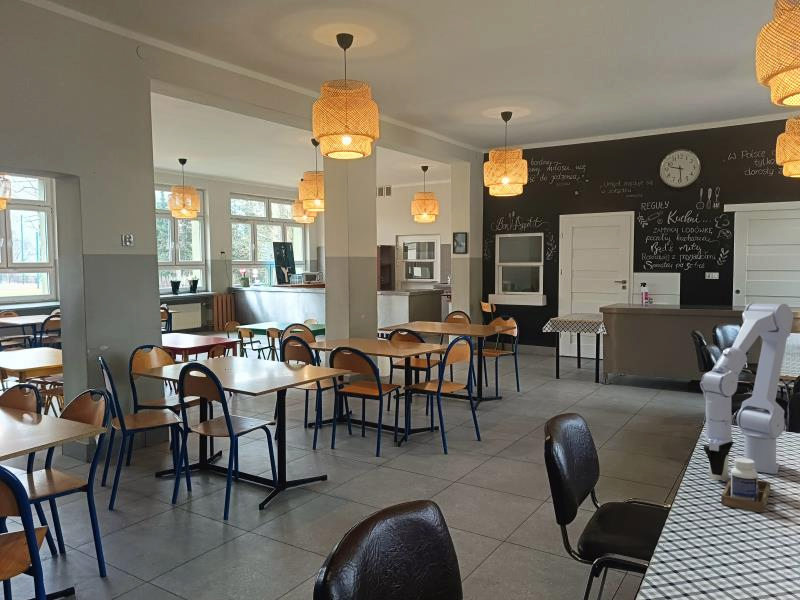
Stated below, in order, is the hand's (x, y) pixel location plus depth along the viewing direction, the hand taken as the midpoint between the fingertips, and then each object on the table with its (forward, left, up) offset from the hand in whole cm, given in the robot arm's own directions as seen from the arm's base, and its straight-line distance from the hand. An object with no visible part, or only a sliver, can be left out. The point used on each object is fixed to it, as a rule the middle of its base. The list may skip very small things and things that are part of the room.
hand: (718, 471), depth 149 cm
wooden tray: (+11, +7, -2) cm, 13 cm away
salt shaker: (0, 0, -2) cm, 2 cm away
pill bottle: (+15, +7, -2) cm, 17 cm away
